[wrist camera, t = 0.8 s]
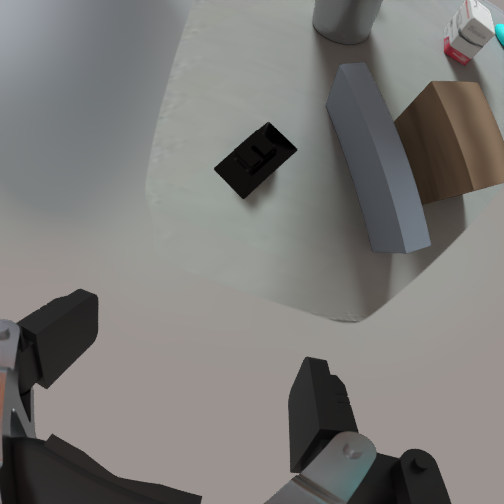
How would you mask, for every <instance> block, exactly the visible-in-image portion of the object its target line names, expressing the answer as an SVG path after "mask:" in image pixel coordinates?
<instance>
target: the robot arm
mask: <svg viewBox="0 0 504 504" xmlns="http://www.w3.org/2000/svg"><path fill="white" fill-rule="evenodd" d="M382 1H383V0H315V5H314V12H313V25H314V27H315V28H316V30H317V31H318V32H319V33H320V34H321V35H323V36H324V37H326V38H328V39H330V40H332V41H335V42H338V43H342V44H358V43H361V42H363V41H364V40H366V39H367V37H368V35H369V33H370V30H371V28H372V25H373V23H374V21H375V18H376V16H377V13H378V11H379V8H380V6H381V3H382ZM97 334H98V297H97V295H95V294H93V293H90V292H88V291H85V290H83V289H78V290H76V291H74V292H73V293H71V294H69V295H68V296H64V297H60V298H56V299H54V300H52V301H51V302H49V303H47V305H44V306H43V307H41V308H40V310H39V309H38V310H36V311H35V312H33V313H31V314H30V315H28V316H27V317H25V318H24V319H22V320H21V321H19V322H18V323H15V322H13V321H10V320H4V319H3V320H0V504H201V500H202V496H199V495H195V494H191V493H187V492H184V491H181V490H177V489H174V488H170V487H167V486H164V485H161V484H154V483H147V482H141V481H135V480H129V479H124V478H119V477H117V476H115V475H113V474H112V473H110V472H109V471H107V470H106V469H105V468H104V467H102V466H101V465H100V464H98V463H97V462H96V461H94V460H93V459H92V458H91V457H89V456H88V455H87V454H86V453H85V452H83V451H81V450H79V449H78V448H76V447H74V446H72V445H71V444H69V443H67V442H65V441H64V440H62V439H60V438H59V437H57V436H55V435H53V434H52V435H51V436H50V437H49V438H48V440H47V441H44V440H40V439H37V438H36V433H35V422H34V390H33V387H32V386H33V385H34V384H35V383H38V384H39V385H41V386H42V387H44V388H45V389H48V388H49V387H50V385H52V384H53V382H54V381H55V380H57V379H58V378H59V376H61V375H62V373H63V372H64V371H65V370H66V369H67V368H68V367H70V366H71V364H73V363H74V362H75V361H76V359H77V358H79V357H80V356H81V355H82V354H83V353H84V352H85V351H86V350H87V349H88V348H89V347H90V346H91V345H92V344H93V342H94V341H95V339H96V337H97ZM347 395H348V394H347V391H346V388H345V385H344V384H343V382H342V381H341V380H340V379H339V378H338V377H337V376H336V375H330V371H329V367H328V363H327V361H326V360H322V359H316V358H311V357H305V359H304V360H303V363H302V365H301V368H300V370H299V372H298V374H297V377H296V379H295V381H294V384H293V386H292V388H291V391H290V395H289V401H288V410H289V435H290V436H289V438H290V472H291V473H300V474H299V475H298V476H297V475H296V476H295V477H293V478H292V479H291V480H290V481H289V482H288V483H287V484H286V485H285V486H283V487H282V488H281V489H280V490H279V491H278V492H277V493H276V494H274V495H273V496H272V497H271V498H270V499H269V500H267V501H266V502H265V503H264V504H451V502H450V498H449V495H448V492H447V490H446V487H445V484H444V481H443V479H442V476H441V473H440V471H439V468H438V465H437V463H436V461H435V459H434V458H433V457H432V456H431V455H430V454H429V453H427V452H425V451H423V450H420V449H410V450H407V451H406V452H404V453H403V455H402V456H401V457H400V458H396V457H392V456H387V455H384V454H380V453H377V452H376V448H375V446H374V444H373V443H372V442H371V441H370V440H369V439H368V438H367V437H365V436H364V435H362V434H359V432H358V429H357V425H356V422H355V419H354V415H353V411H352V408H351V405H350V401H349V398H348V397H347Z"/></svg>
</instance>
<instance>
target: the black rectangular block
mask: <svg viewBox="0 0 504 504" xmlns="http://www.w3.org/2000/svg"><path fill="white" fill-rule="evenodd" d="M296 151H297V148H296V147H295V146H294V145H293V144H292V143H291V142H290V141H289V140H288V139H287V138H285V137H284V136H283V135H282V134H281V133H280V132H279V131H278V130H277V129H276V128H275V127H274V126H273V125H272V124H271V123H270V122H267V123H266V124H265V125H264V126H262V127H261V128H260V129H259V130H256V131H255V132H254V133H253V134H252V135H251V136H249V137H248V138H247V139H246V140H245V141H244V142H242V143H241V144H240V145H239V146H238V147H237V148H236V149H234V151H233V152H232V153H231V154H229V155H228V156H227V157H226V158H225V159H224V160H223V161H221V162H220V163H219V164H218V165H217V166H216V167H215V168H214V170H215V171H216V172H217V173H218V174H219V175H220V176H221V177H222V178H223V179H224V180H225V181H226V182H227V183H228V184H229V185H230V186H231V187H232V189H233V190H234V191H235V192H236V193H237V194H238V195H239V196H240V197H241V198H242V199H245V198H246V197H247V196H248V195H249V194H250V193H251V192H252V191H253V190H254V189H256V188H257V187H258V186H259V185H260V184H261V183H262V182H263V181H264V180H265V179H266V178H267V177H269V176H270V175H271V174H272V173H273V172H274V171H275V170H276V169H277V168H278V167H279V166H281V165H282V164H283V163H284V162H285V161H286V160H287V159H288V158H289V157H291V156H292V155H293V154H294V153H295V152H296Z"/></svg>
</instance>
